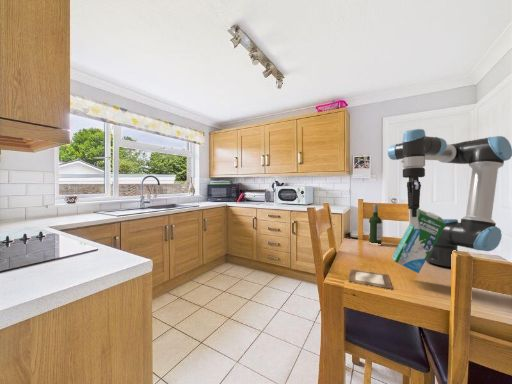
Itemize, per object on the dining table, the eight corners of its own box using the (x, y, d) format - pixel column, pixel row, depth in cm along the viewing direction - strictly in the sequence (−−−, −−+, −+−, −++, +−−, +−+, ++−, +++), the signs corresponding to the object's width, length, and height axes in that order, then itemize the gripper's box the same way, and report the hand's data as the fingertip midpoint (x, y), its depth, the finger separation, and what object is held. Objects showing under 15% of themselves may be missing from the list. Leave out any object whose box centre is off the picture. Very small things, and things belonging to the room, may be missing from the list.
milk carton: (394, 261, 93) (423, 208, 89) (391, 257, 101) (417, 208, 97) (418, 273, 89) (449, 218, 86) (413, 267, 97) (441, 217, 94)
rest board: (387, 276, 101) (387, 274, 101) (392, 290, 87) (392, 288, 87) (350, 270, 108) (350, 268, 108) (348, 283, 94) (349, 280, 94)
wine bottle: (371, 244, 162) (371, 204, 162) (383, 246, 156) (383, 204, 156) (367, 246, 157) (367, 204, 156) (379, 248, 151) (379, 205, 151)
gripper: (400, 169, 98) (400, 221, 98) (405, 166, 86) (405, 226, 86) (420, 168, 95) (420, 222, 95) (429, 165, 83) (429, 227, 83)
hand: (413, 224), depth 91 cm, fingers closed on milk carton
